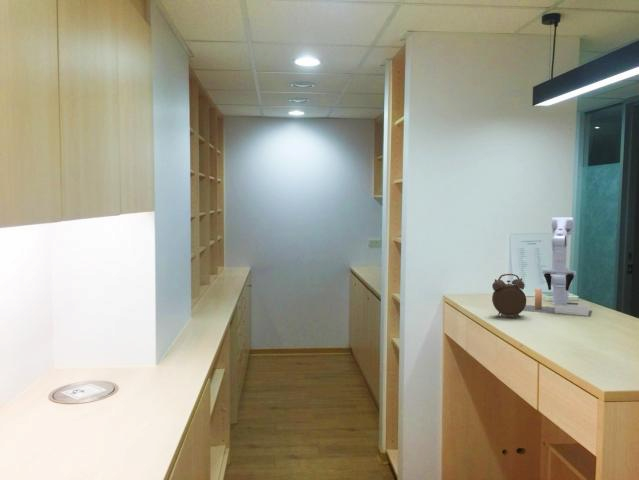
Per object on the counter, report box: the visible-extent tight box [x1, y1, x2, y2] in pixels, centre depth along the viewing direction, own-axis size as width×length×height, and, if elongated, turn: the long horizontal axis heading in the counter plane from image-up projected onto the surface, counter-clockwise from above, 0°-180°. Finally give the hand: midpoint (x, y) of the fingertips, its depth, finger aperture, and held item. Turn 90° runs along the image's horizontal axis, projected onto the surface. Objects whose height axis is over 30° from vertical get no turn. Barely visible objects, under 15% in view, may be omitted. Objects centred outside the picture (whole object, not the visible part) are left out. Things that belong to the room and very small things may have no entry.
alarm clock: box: [491, 273, 527, 318], centre depth 242 cm, size 15×7×20 cm, turn 84°
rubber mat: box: [522, 304, 593, 318], centre depth 252 cm, size 14×30×1 cm, turn 60°
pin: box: [534, 288, 543, 310], centre depth 256 cm, size 3×3×10 cm
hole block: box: [554, 300, 591, 317], centre depth 248 cm, size 12×14×4 cm
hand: (558, 290), depth 247 cm, fingers open, 7 cm apart
